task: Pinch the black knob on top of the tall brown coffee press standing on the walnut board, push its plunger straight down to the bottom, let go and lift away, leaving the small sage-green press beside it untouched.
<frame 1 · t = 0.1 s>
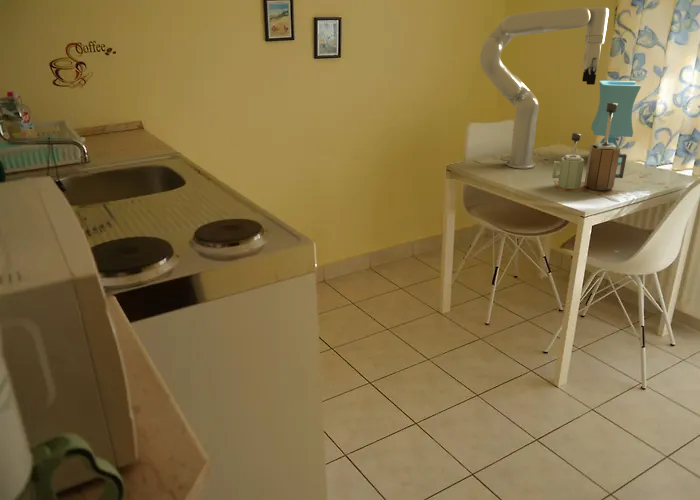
hand: (588, 82, 242), 37 cm above the table, tool pointing down, fingers open, 9 cm apart
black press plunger: (607, 131, 217), point 23 cm above the table, slide at 0.0 cm
brown coffee press: (598, 187, 226), resting on walnut board
green press: (568, 186, 227), resting on walnut board
green press plunger: (574, 150, 222), point 16 cm above the table, slide at 0.0 cm
walnut board: (584, 189, 227), on the table
planter: (606, 160, 269), on the table
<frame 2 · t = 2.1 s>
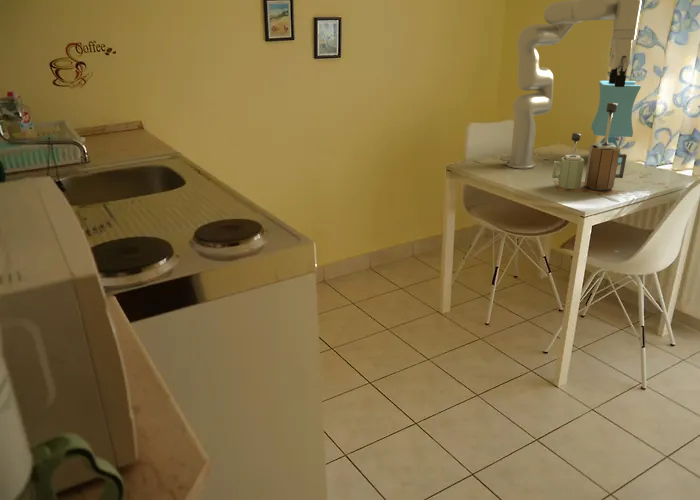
hand: (616, 85, 210), 40 cm above the table, tool pointing down, fingers open, 9 cm apart
nothing on the table moved.
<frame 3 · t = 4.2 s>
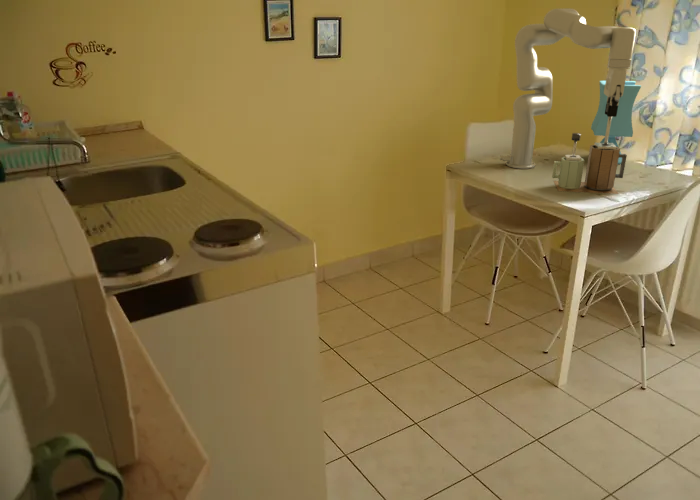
hand: (610, 115, 214), 29 cm above the table, tool pointing down, fingers closed on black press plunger, 3 cm apart
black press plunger: (607, 131, 217), point 23 cm above the table, slide at 0.0 cm, touching gripper
everything else where it was.
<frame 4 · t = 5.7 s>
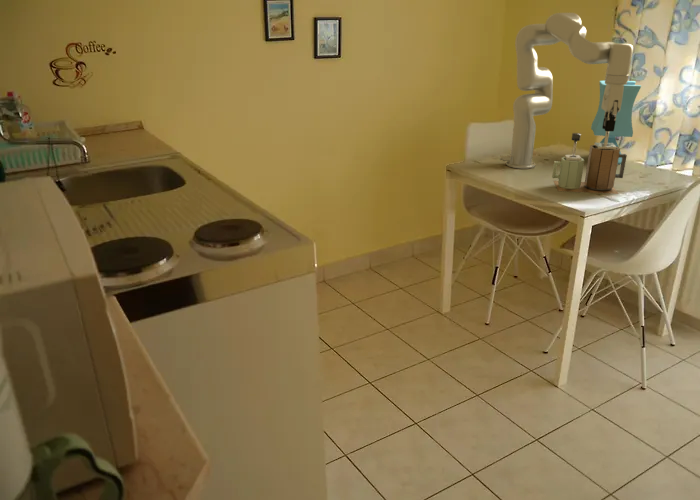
hand: (608, 129, 216), 24 cm above the table, tool pointing down, fingers closed on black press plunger, 3 cm apart
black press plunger: (605, 145, 219), point 18 cm above the table, slide at 5.4 cm, touching gripper
everything else where it was.
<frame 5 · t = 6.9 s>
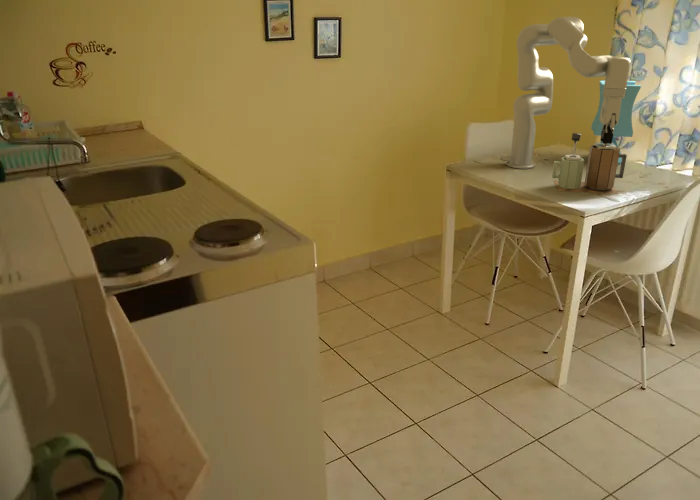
hand: (605, 141, 218), 19 cm above the table, tool pointing down, fingers closed on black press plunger, 3 cm apart
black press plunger: (603, 157, 221), point 13 cm above the table, slide at 10.1 cm, touching gripper
everything else where it was.
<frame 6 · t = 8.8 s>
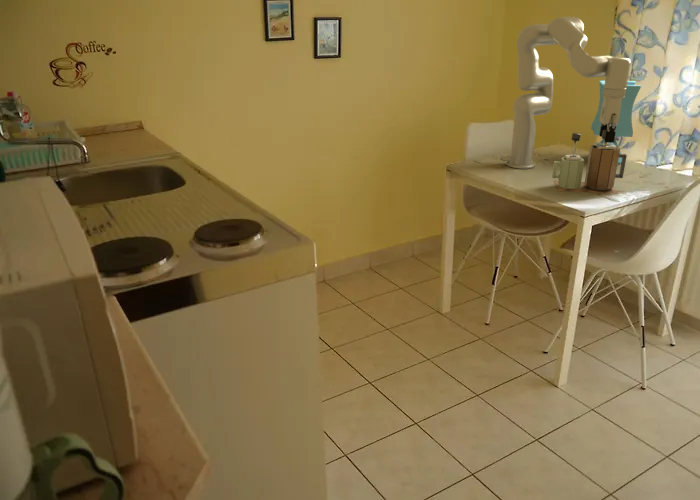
hand: (606, 139, 218), 20 cm above the table, tool pointing down, fingers open, 9 cm apart
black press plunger: (603, 157, 221), point 13 cm above the table, slide at 10.1 cm
everything else where it was.
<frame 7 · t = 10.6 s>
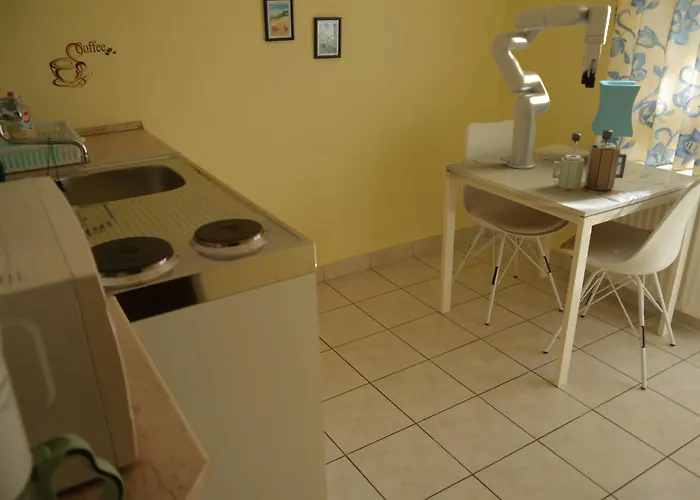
hand: (587, 85, 226), 38 cm above the table, tool pointing down, fingers open, 9 cm apart
nothing on the table moved.
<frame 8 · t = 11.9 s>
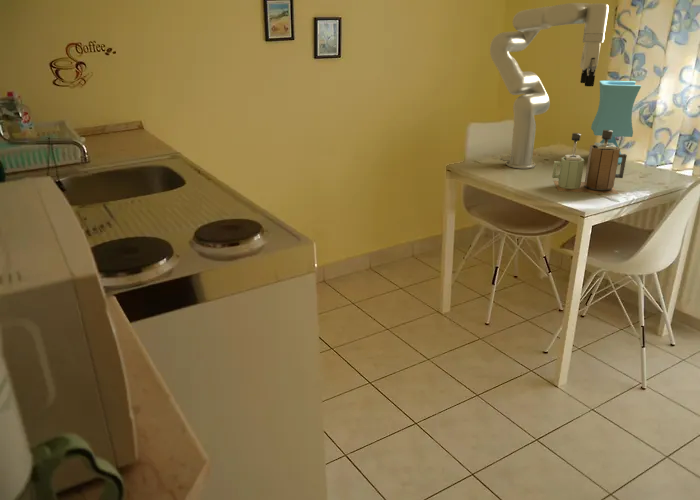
hand: (586, 84, 226), 38 cm above the table, tool pointing down, fingers open, 9 cm apart
nothing on the table moved.
at the end: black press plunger slide at 10.1 cm; green press plunger slide at 0.0 cm; the gripper is holding nothing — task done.
